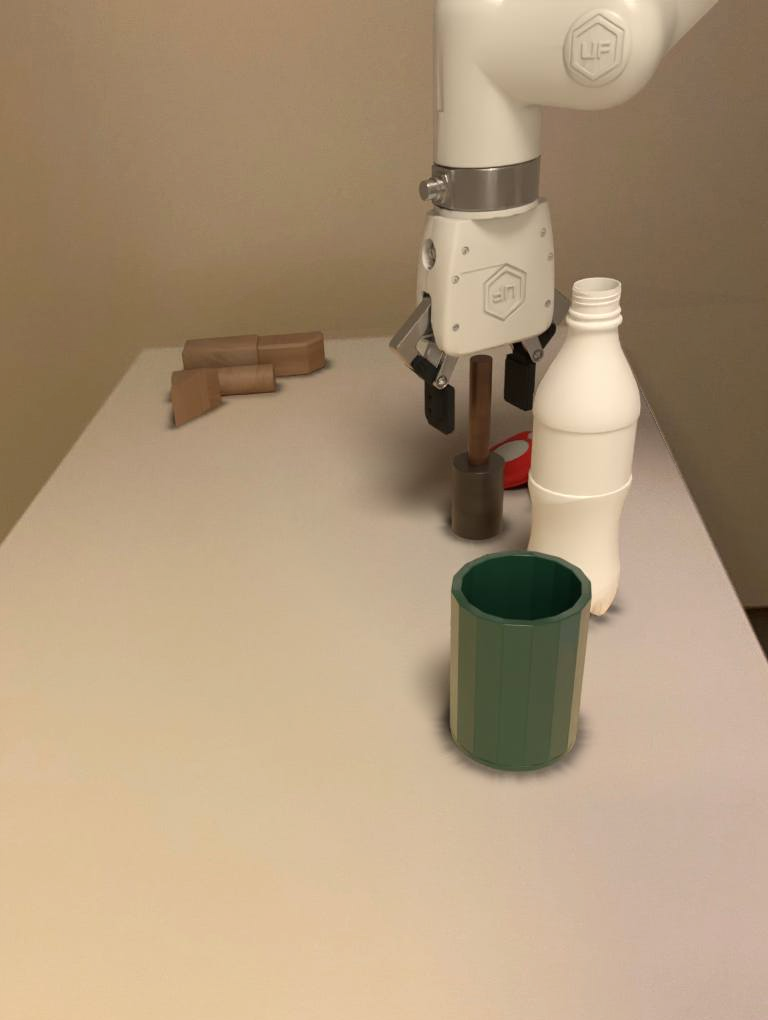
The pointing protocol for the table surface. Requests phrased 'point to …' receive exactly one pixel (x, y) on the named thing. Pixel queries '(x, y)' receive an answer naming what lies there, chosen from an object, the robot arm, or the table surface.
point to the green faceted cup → (517, 658)
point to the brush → (478, 464)
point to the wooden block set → (239, 368)
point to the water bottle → (585, 442)
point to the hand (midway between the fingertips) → (479, 415)
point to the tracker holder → (516, 458)
